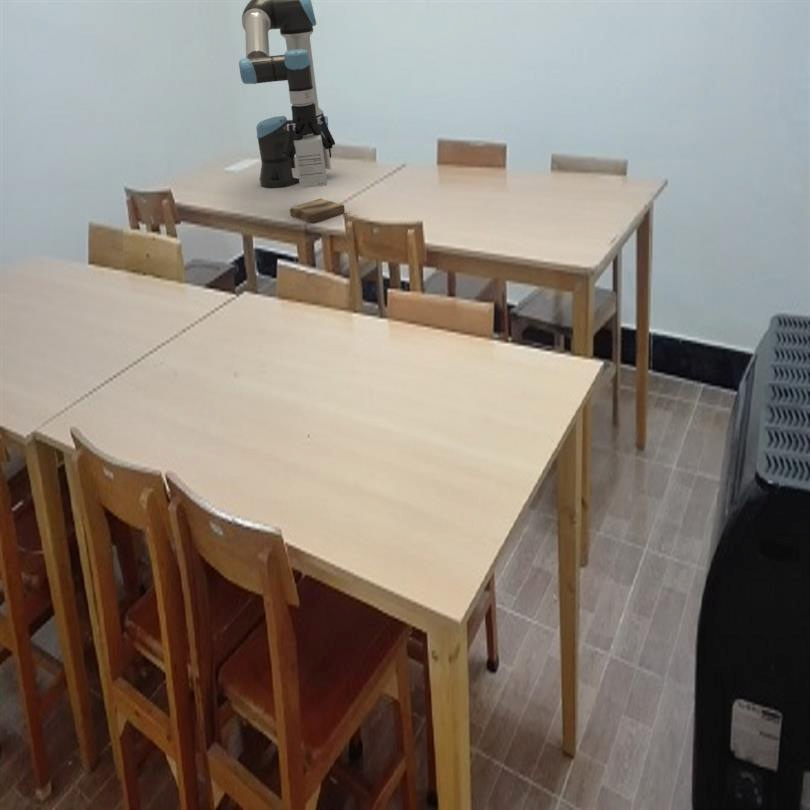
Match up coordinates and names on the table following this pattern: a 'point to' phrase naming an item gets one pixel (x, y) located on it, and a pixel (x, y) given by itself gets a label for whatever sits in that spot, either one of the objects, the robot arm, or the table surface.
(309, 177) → the supplement box
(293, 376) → the table surface
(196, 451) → the table surface
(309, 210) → the walnut base
